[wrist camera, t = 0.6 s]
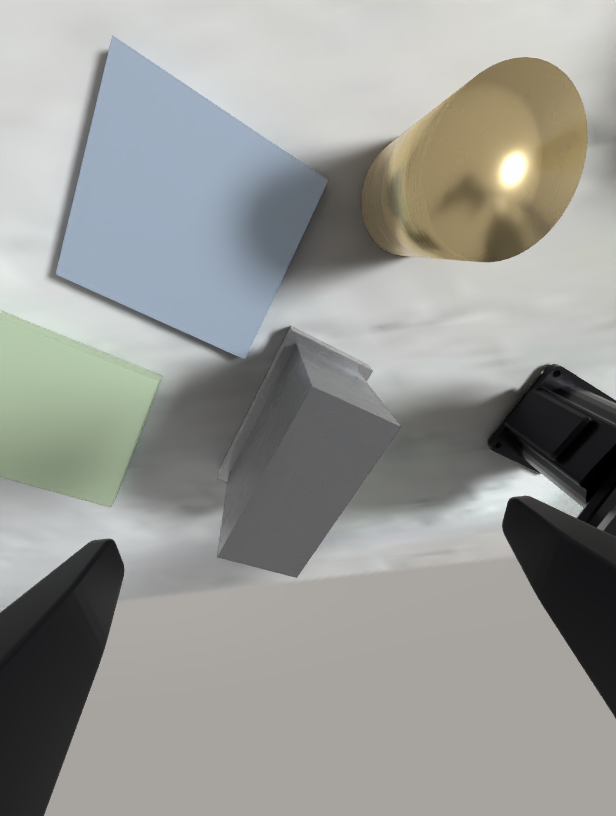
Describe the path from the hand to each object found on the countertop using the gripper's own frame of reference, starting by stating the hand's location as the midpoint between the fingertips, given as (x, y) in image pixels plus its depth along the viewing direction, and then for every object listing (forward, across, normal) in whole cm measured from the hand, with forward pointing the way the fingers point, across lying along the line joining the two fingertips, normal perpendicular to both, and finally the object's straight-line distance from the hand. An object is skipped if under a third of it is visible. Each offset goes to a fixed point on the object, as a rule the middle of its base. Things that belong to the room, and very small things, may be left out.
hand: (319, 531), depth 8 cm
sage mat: (+12, +13, +2) cm, 18 cm away
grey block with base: (+13, 0, +4) cm, 13 cm away
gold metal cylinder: (+13, -6, -8) cm, 16 cm away
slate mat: (+12, +4, -7) cm, 15 cm away
